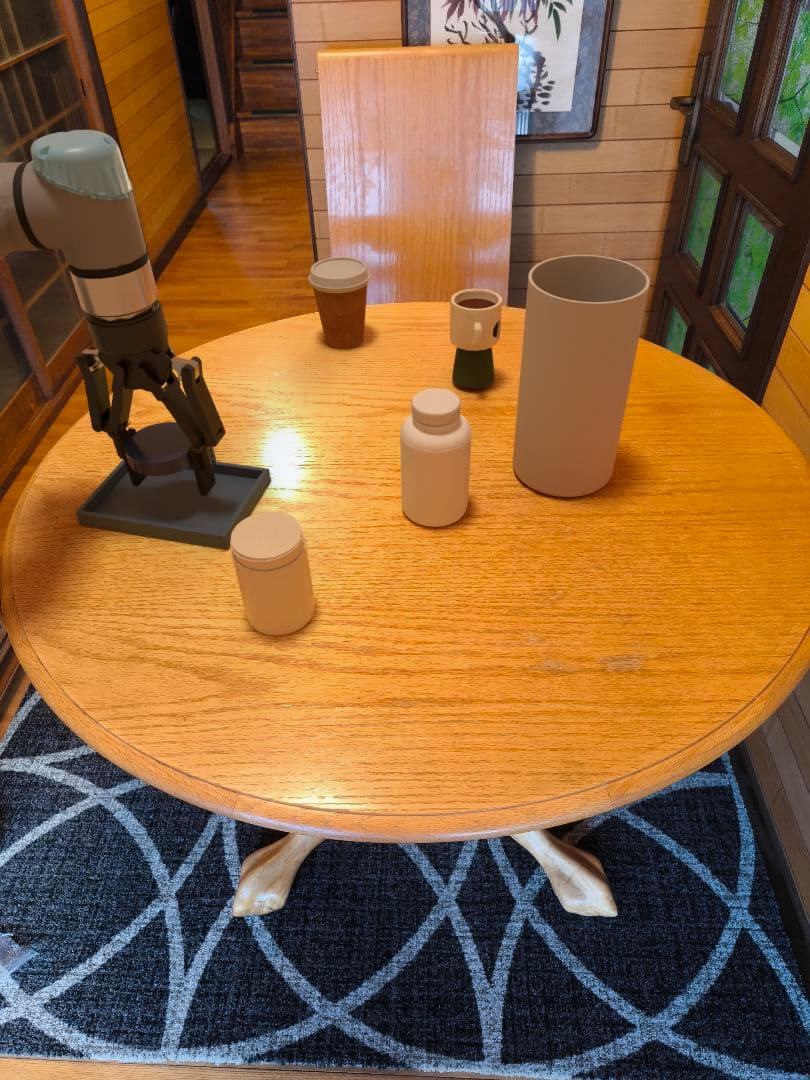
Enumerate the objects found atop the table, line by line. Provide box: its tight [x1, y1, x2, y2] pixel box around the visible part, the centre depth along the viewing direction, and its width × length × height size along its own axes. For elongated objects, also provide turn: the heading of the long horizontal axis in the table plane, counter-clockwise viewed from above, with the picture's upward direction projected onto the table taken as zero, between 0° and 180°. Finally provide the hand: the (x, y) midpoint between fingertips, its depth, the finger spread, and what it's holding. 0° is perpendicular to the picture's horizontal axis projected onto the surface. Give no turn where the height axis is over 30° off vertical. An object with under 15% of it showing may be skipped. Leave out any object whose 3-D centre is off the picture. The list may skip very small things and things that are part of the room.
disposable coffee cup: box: [307, 256, 371, 350], centre depth 121 cm, size 10×10×12 cm
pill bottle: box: [399, 387, 472, 528], centre depth 87 cm, size 8×8×15 cm
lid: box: [125, 421, 192, 476], centre depth 88 cm, size 8×8×2 cm
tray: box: [74, 459, 272, 550], centre depth 93 cm, size 19×13×2 cm
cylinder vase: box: [512, 254, 651, 498], centre depth 89 cm, size 12×12×25 cm
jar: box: [230, 511, 316, 636], centre depth 76 cm, size 7×7×11 cm
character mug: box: [449, 288, 503, 389], centre depth 109 cm, size 11×7×13 cm, turn 0°
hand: (174, 484), depth 92 cm, fingers closed on lid, 8 cm apart
